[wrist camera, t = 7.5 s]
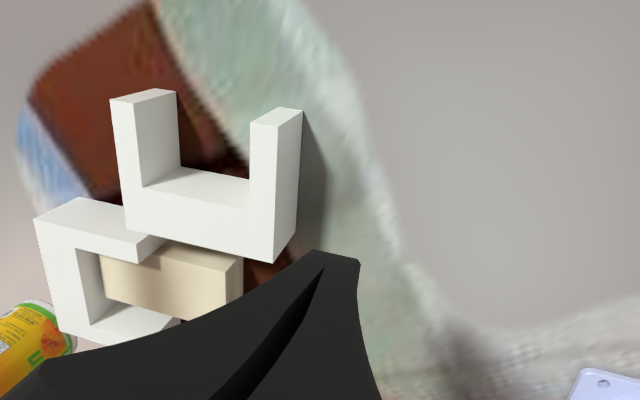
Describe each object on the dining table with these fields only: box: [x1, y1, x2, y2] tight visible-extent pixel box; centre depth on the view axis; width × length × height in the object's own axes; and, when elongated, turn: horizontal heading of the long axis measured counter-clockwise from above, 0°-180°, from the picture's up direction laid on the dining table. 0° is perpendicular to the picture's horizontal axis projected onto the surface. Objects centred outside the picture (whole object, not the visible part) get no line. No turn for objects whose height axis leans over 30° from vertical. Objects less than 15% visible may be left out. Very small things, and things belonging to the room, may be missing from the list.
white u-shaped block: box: [110, 88, 303, 264], centre depth 20 cm, size 6×8×3 cm
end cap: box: [33, 197, 181, 346], centre depth 25 cm, size 6×8×3 cm
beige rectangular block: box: [99, 239, 243, 321], centre depth 25 cm, size 8×4×2 cm, turn 85°
